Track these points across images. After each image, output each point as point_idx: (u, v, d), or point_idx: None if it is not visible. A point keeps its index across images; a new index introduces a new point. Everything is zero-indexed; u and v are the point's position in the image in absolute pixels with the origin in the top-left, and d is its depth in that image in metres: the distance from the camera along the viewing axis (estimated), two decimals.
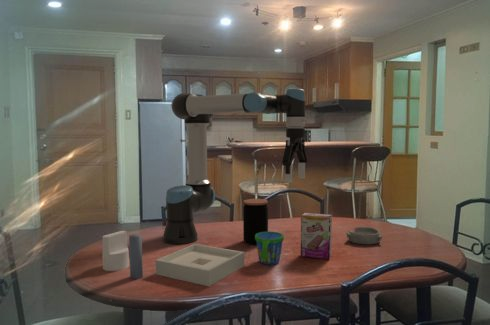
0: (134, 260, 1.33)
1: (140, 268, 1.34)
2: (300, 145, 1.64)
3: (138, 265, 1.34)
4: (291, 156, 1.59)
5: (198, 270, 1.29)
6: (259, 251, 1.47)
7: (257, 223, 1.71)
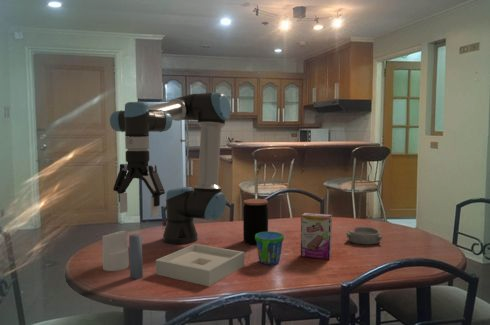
0: (134, 260, 1.33)
1: (140, 268, 1.34)
2: None
3: (138, 265, 1.34)
4: (122, 183, 1.36)
5: (198, 270, 1.29)
6: (259, 251, 1.47)
7: (257, 223, 1.71)
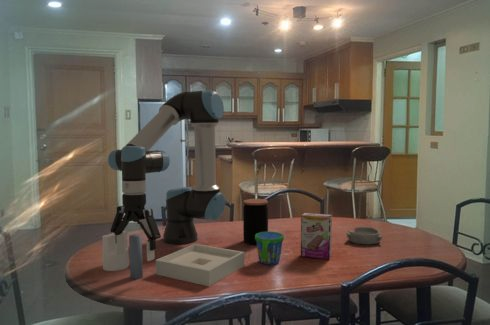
0: (134, 260, 1.33)
1: (140, 268, 1.34)
2: (133, 215, 1.32)
3: (138, 265, 1.34)
4: (119, 225, 1.36)
5: (198, 270, 1.29)
6: (259, 251, 1.47)
7: (257, 223, 1.71)
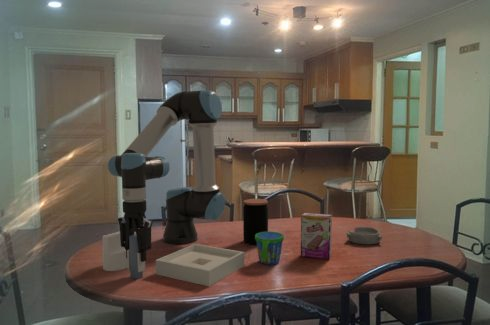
0: (134, 260, 1.33)
1: None
2: None
3: None
4: (126, 238, 1.35)
5: (198, 270, 1.29)
6: (259, 251, 1.47)
7: (257, 223, 1.71)
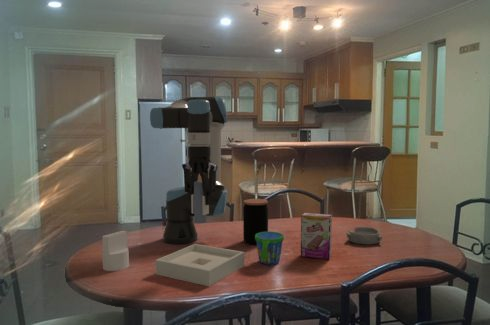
0: (199, 205, 1.38)
1: None
2: (198, 166, 1.37)
3: None
4: None
5: (198, 270, 1.29)
6: (259, 251, 1.47)
7: (257, 223, 1.71)
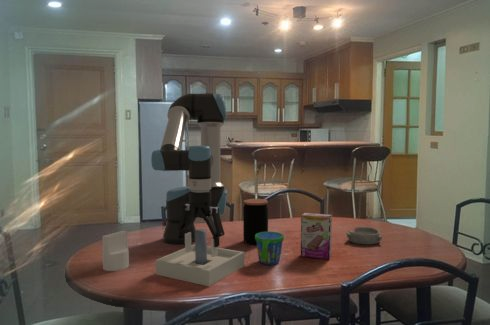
0: (200, 254, 1.40)
1: (205, 261, 1.41)
2: (200, 212, 1.38)
3: (203, 259, 1.40)
4: (186, 223, 1.43)
5: (198, 270, 1.29)
6: (259, 251, 1.47)
7: (257, 223, 1.71)
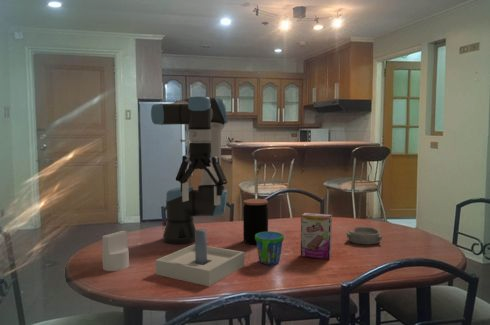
0: (200, 254, 1.39)
1: (205, 261, 1.41)
2: (200, 163, 1.38)
3: (203, 259, 1.40)
4: (184, 173, 1.43)
5: (198, 270, 1.29)
6: (259, 251, 1.47)
7: (257, 223, 1.71)
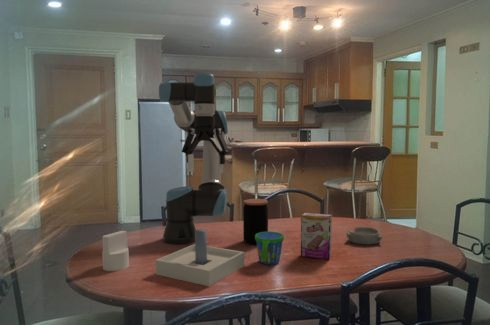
0: (200, 254, 1.39)
1: (205, 261, 1.41)
2: (204, 134, 1.51)
3: (203, 259, 1.40)
4: (190, 145, 1.55)
5: (198, 270, 1.29)
6: (259, 251, 1.47)
7: (257, 223, 1.71)
